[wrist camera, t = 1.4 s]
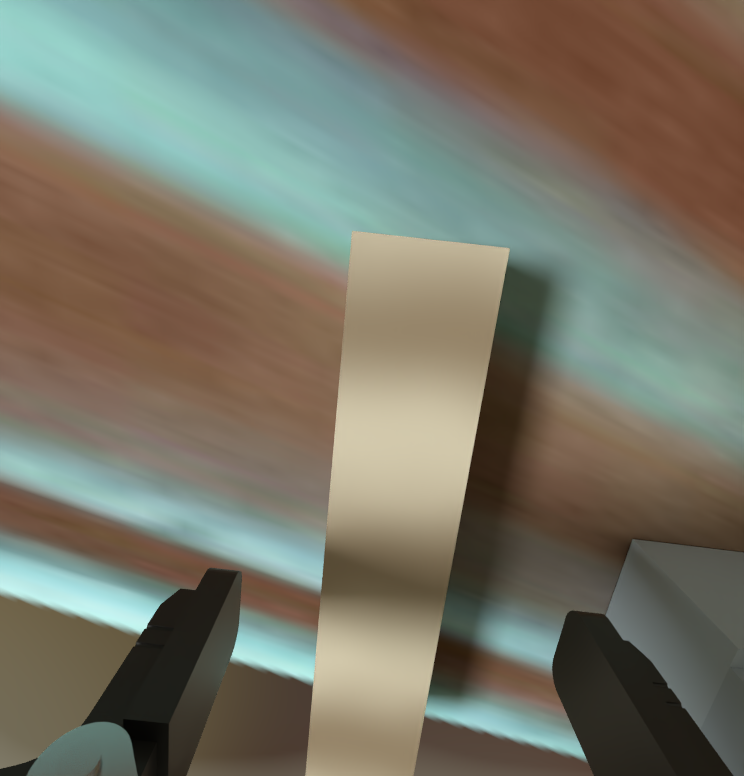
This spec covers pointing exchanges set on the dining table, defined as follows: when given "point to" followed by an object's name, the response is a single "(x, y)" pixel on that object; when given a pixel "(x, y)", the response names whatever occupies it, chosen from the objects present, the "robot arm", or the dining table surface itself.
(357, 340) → the bar
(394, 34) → the dining table surface
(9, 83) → the dining table surface
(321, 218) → the dining table surface
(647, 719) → the robot arm
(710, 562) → the grey stepped block
